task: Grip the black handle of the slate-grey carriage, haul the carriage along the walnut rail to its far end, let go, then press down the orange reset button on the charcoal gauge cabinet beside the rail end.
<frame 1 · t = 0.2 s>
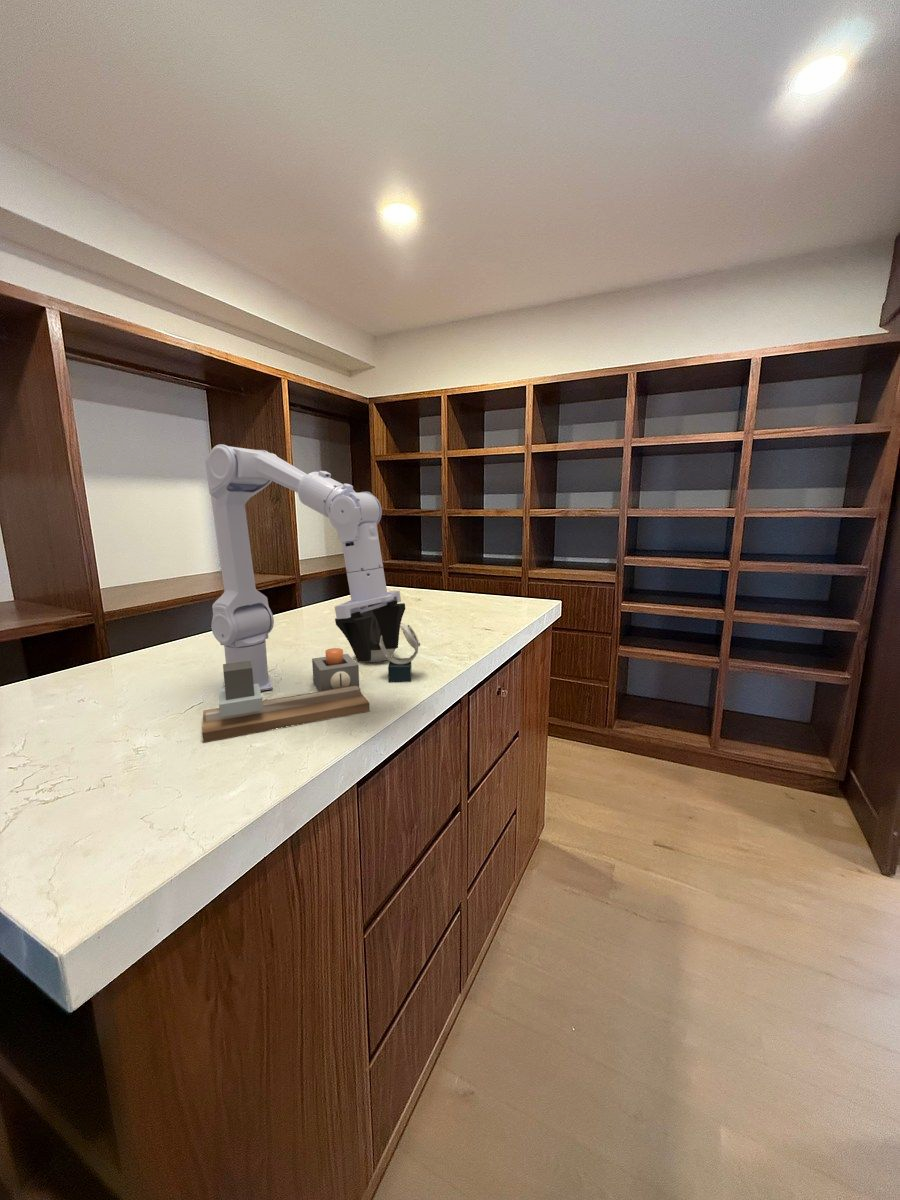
hand: (378, 654, 77), 11 cm above the table, tool pointing down, fingers open, 7 cm apart
rail track: (288, 715, 79), on the table
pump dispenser: (375, 659, 109), on the table
carriage: (239, 685, 75), point 6 cm above the table, slide at -7.0 cm
watch: (400, 678, 97), on the table
gauge cabinet: (336, 686, 92), on the table
reset button: (334, 656, 91), point 6 cm above the table, slide at 0.0 cm
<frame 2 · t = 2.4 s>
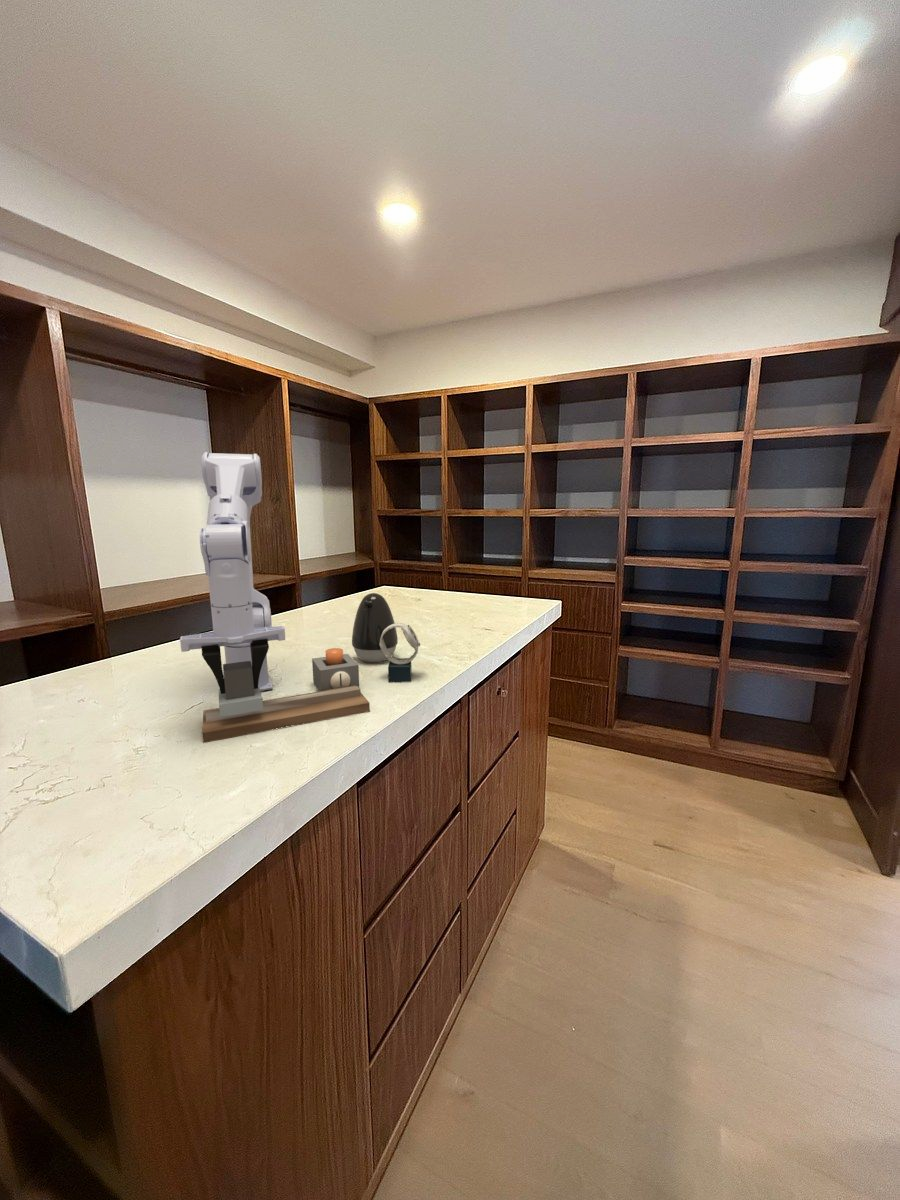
hand: (239, 689, 75), 6 cm above the table, tool pointing down, fingers closed on carriage, 4 cm apart
carriage: (239, 685, 75), point 6 cm above the table, slide at -7.0 cm, touching gripper
everything else where it was.
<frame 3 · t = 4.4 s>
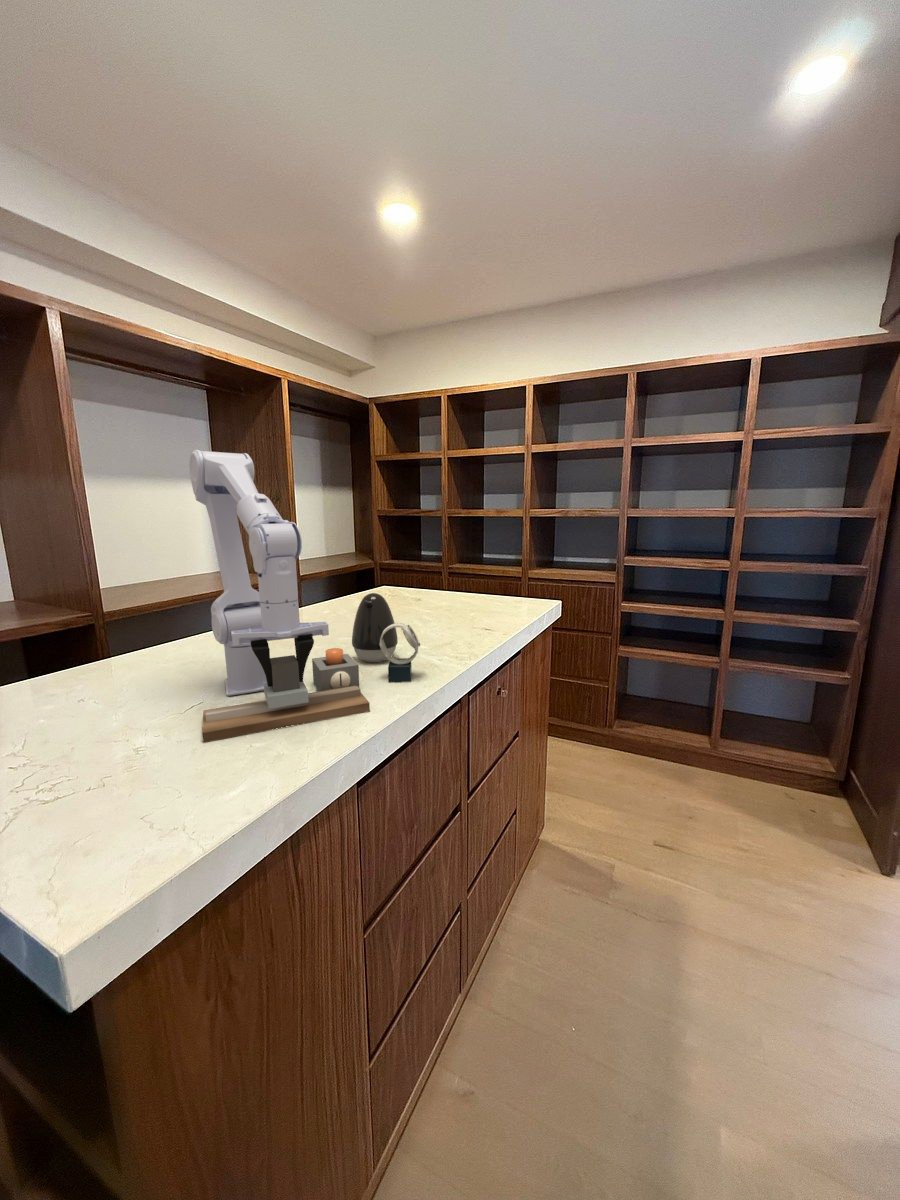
hand: (285, 682, 78), 6 cm above the table, tool pointing down, fingers closed on carriage, 4 cm apart
carriage: (284, 679, 78), point 6 cm above the table, slide at -0.2 cm, touching gripper
everything else where it was.
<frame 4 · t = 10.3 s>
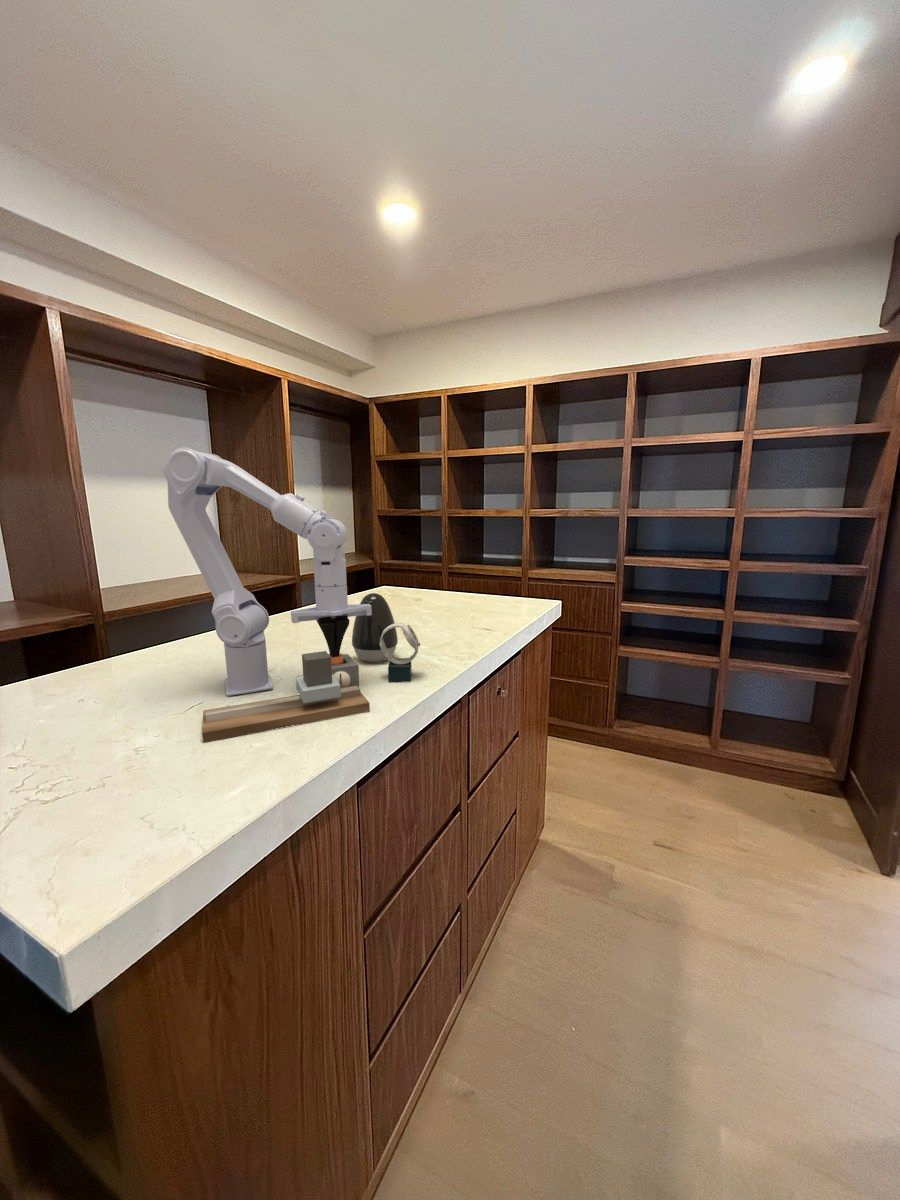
hand: (334, 655, 91), 6 cm above the table, tool pointing down, fingers closed, pressing on reset button
carriage: (317, 674, 80), point 6 cm above the table, slide at 5.0 cm
reset button: (334, 661, 91), point 5 cm above the table, slide at 1.0 cm, touching gripper
everything else where it was.
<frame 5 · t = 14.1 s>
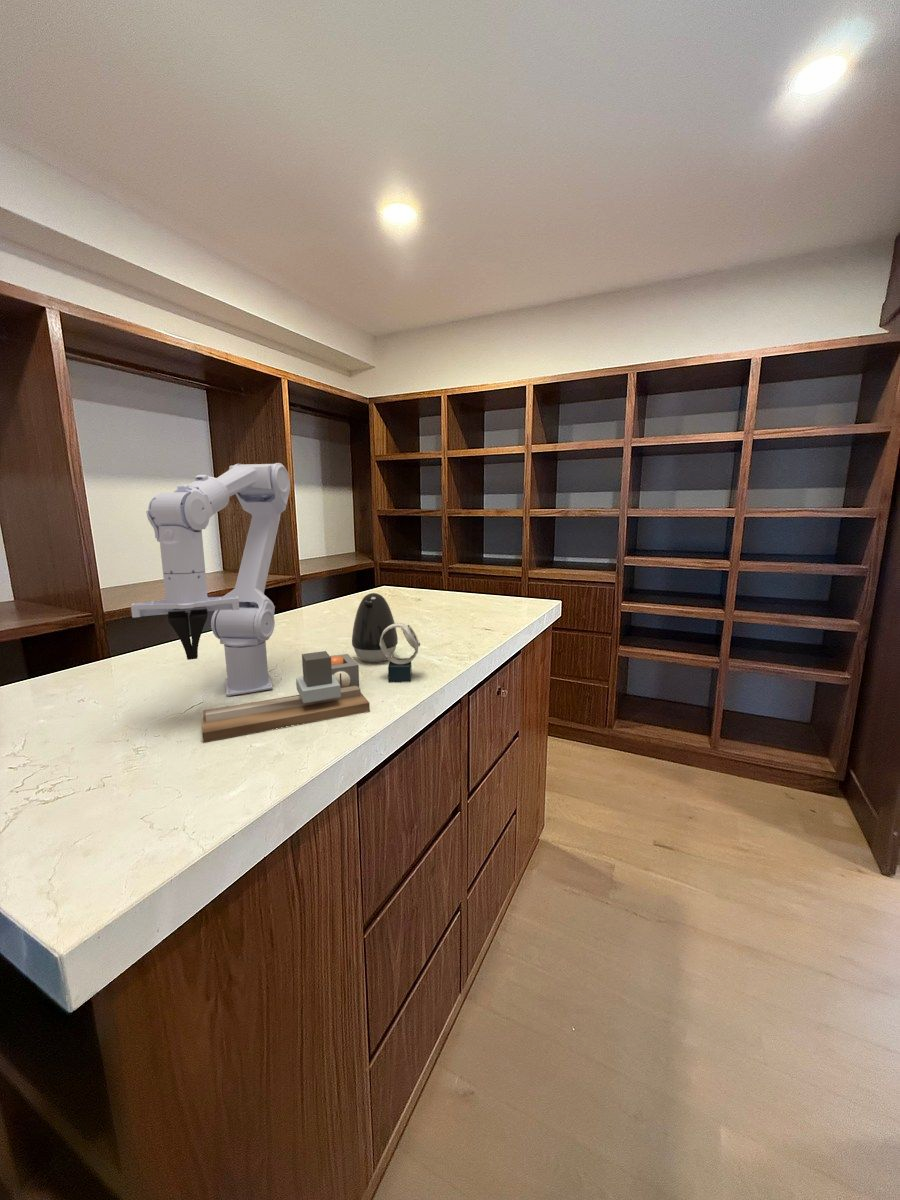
hand: (192, 657, 76), 10 cm above the table, tool pointing down, fingers closed
reset button: (334, 664, 91), point 4 cm above the table, slide at 1.5 cm
everything else where it was.
at the end: carriage slide at 5.0 cm; reset button slide at 1.5 cm; the gripper is holding nothing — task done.
